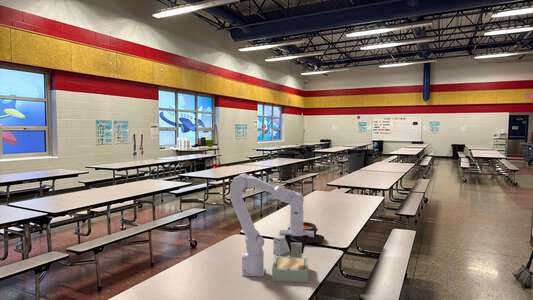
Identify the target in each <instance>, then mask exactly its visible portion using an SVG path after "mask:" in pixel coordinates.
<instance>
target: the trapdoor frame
mask: <svg viewBox="0 0 533 300" xmlns="http://www.w3.org/2000/svg"><path fill="white" fill-rule="evenodd" d="M278 258H291V255H287V256H283V255H281V256H277V255H275V256H274V258H273V263H272V267H271V282H287V283H288V282H289V283H306V284H308V283H309V258H308V257H307V256H306V257H305V256H304V257H303V256H302V258H299V259H304V264H305V269H289V268H288V267H287V269H284V268H276V265H277V259H278Z"/></svg>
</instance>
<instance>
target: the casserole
mask: <svg viewBox="0 0 533 300" xmlns="http://www.w3.org/2000/svg"><path fill="white" fill-rule="evenodd" d="M287 230H290V225H289V226H288V228H287ZM303 230H306V231H314V237H311V236H308V241H307V242H306V243H320V242H323V241H324V240H325V236H324V235H321V234H318V233H317V232H318V230H319V229H318V228H317V226H316V224H314V223H312V222H308V221H303ZM291 241H292V242H296V243H302V236H291Z"/></svg>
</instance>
